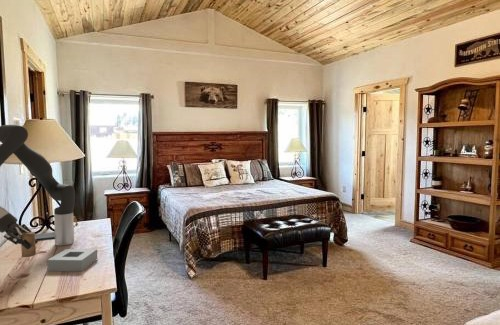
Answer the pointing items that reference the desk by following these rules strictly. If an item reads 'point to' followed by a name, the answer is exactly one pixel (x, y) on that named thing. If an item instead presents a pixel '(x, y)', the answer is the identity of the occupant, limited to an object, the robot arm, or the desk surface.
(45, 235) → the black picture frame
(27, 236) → the peg
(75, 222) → the lion figurine
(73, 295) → the desk surface
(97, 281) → the desk surface
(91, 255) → the socket block
